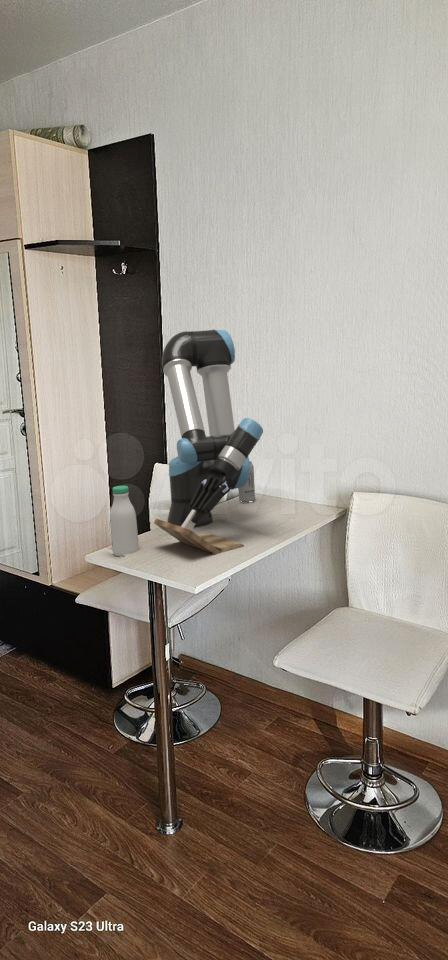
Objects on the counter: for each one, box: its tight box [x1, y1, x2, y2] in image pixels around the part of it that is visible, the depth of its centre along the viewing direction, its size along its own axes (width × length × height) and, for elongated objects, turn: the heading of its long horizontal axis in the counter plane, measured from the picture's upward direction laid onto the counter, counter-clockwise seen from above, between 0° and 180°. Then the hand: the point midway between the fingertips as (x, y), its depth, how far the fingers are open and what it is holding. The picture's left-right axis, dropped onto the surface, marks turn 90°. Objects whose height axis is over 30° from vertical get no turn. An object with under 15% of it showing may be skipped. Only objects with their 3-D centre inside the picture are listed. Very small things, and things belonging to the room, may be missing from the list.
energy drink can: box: [237, 460, 256, 502], centre depth 260 cm, size 6×6×15 cm
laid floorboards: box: [197, 532, 245, 554], centre depth 208 cm, size 18×8×2 cm, turn 37°
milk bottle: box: [109, 485, 140, 557], centre depth 204 cm, size 8×8×20 cm
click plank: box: [153, 518, 221, 555], centre depth 201 cm, size 18×2×13 cm
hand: (184, 530), depth 200 cm, fingers closed
